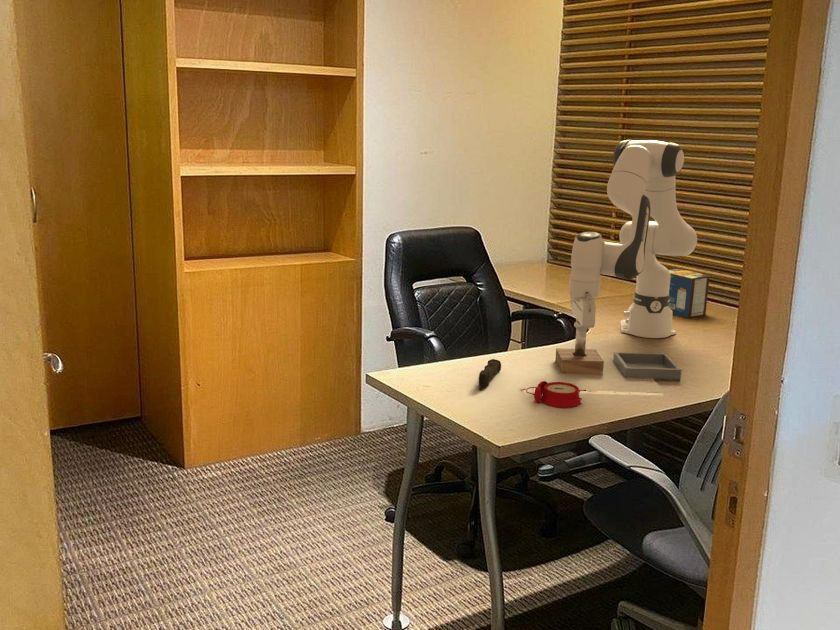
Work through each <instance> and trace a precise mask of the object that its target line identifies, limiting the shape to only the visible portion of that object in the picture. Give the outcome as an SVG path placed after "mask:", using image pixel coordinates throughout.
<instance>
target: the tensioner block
mask: <svg viewBox="0 0 840 630" xmlns="http://www.w3.org/2000/svg"><path fill="white" fill-rule="evenodd" d="M555 364H556V365H557V367H558V370H559V371H560V373H561V374H568V375H569V374H571V375H572V374H573V375H575V374H577V375H603V374H604V364H605V362H604V359H603V358H602V356H601V355H600V353H599V352H598V350H597V349H596V348H585V354H576V353H575V348H567V347H566V348H561V347H560V348H558V347H557V348H556V349H555Z"/></svg>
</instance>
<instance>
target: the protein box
mask: <svg viewBox="0 0 840 630" xmlns="http://www.w3.org/2000/svg"><path fill="white" fill-rule="evenodd" d="M668 270H669V272H670V275H671V278H670V288H669V295H670V302H669V306H668V307H669V308H670V309H671V310H672V315H676V316H679V317H684V318H689V319H690V318H694V317H700V316H706V313H707V304H708V296H709V295H708V294H709V287H710V277H711V275H709V274H705V273H700V272H695V271H691V270H685V269H681V268H674V269H668Z"/></svg>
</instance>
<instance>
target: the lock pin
mask: <svg viewBox="0 0 840 630" xmlns="http://www.w3.org/2000/svg"><path fill="white" fill-rule="evenodd" d="M573 327H574V328H575V329H576V330H575V344H574V349H575V353H576V354H585V349H586V344H587V343H586V342H587V336H586V337H580V335H579V330H580V323H579V321H578V322H576V321H574V324H573ZM587 332H588V330H587V331H586V333H587Z"/></svg>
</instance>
